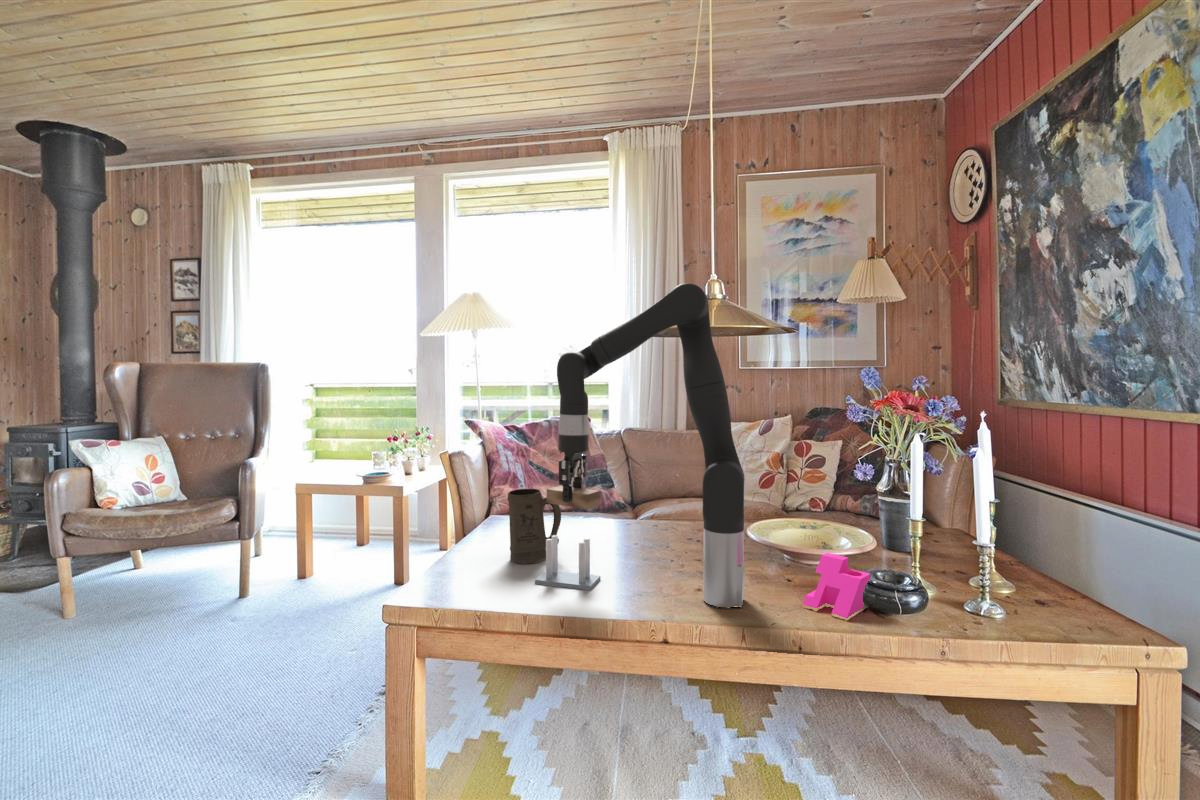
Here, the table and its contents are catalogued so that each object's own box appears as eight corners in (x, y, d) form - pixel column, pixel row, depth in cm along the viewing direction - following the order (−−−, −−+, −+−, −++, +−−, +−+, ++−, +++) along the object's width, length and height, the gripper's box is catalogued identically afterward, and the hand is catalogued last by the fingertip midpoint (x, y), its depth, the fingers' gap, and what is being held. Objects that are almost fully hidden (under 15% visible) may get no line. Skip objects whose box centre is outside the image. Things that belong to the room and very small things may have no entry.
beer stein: (509, 566, 160) (509, 495, 159) (505, 555, 170) (505, 488, 170) (563, 562, 164) (563, 492, 164) (556, 551, 174) (556, 486, 174)
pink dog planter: (826, 594, 139) (827, 552, 139) (869, 607, 132) (870, 562, 131) (802, 608, 131) (802, 563, 131) (846, 621, 124) (847, 574, 123)
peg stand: (600, 579, 149) (600, 537, 149) (590, 590, 142) (590, 546, 141) (547, 573, 154) (547, 533, 154) (534, 583, 146) (534, 540, 146)
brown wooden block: (599, 504, 143) (599, 490, 143) (586, 509, 138) (586, 494, 138) (560, 498, 149) (560, 485, 149) (546, 503, 144) (546, 489, 144)
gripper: (578, 435, 135) (577, 505, 135) (596, 430, 149) (595, 494, 149) (548, 434, 137) (547, 503, 138) (569, 429, 151) (568, 492, 151)
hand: (572, 498), depth 143 cm, fingers closed on brown wooden block, 7 cm apart
